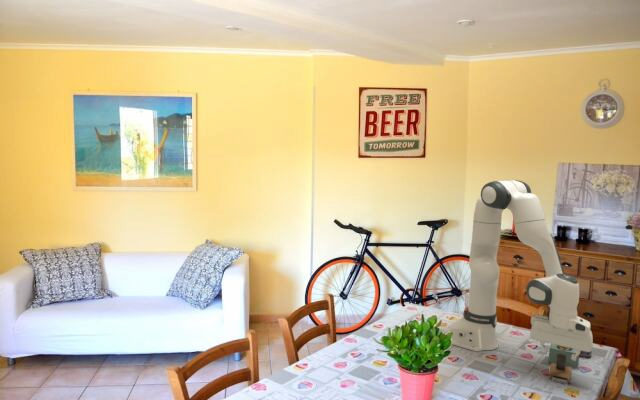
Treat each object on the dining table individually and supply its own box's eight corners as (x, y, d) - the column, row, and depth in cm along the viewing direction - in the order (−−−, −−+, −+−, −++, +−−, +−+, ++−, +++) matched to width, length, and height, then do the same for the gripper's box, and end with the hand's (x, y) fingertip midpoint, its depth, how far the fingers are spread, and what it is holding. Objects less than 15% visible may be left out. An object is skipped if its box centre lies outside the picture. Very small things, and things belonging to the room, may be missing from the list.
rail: (551, 381, 173) (551, 377, 173) (555, 365, 186) (555, 361, 185) (566, 384, 170) (567, 380, 170) (570, 368, 183) (570, 364, 183)
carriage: (548, 378, 174) (550, 355, 173) (550, 371, 179) (551, 350, 178) (570, 383, 171) (571, 360, 170) (571, 376, 176) (573, 354, 175)
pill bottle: (593, 359, 191) (595, 332, 190) (576, 357, 193) (578, 331, 191) (588, 352, 197) (589, 326, 196) (572, 351, 199) (573, 325, 197)
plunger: (555, 358, 187) (556, 343, 186) (556, 353, 192) (557, 338, 191) (571, 362, 184) (572, 346, 184) (572, 356, 189) (573, 341, 188)
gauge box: (548, 362, 188) (549, 348, 187) (550, 356, 194) (551, 341, 193) (577, 368, 183) (578, 353, 182) (578, 362, 189) (579, 347, 188)
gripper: (530, 315, 176) (526, 352, 177) (594, 329, 165) (590, 367, 166) (532, 311, 181) (529, 346, 182) (595, 323, 170) (591, 361, 172)
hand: (558, 356), depth 174 cm, fingers open, 8 cm apart
